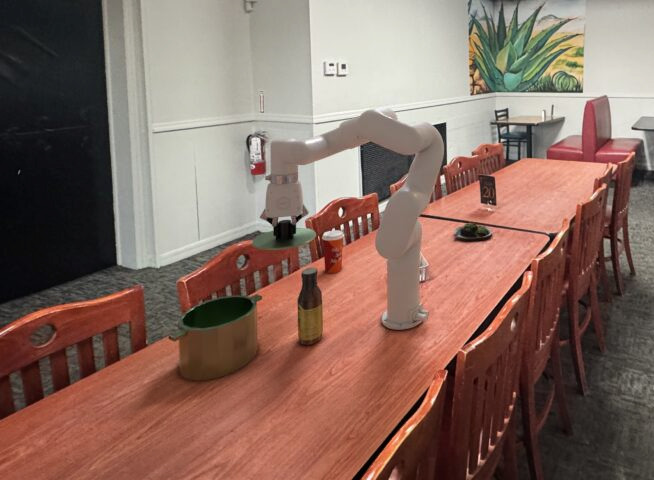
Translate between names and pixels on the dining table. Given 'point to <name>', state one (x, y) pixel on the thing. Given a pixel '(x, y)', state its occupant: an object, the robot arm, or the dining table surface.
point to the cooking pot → (217, 336)
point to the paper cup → (333, 250)
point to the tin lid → (283, 238)
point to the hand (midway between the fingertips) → (284, 236)
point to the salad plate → (472, 232)
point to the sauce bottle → (310, 308)
